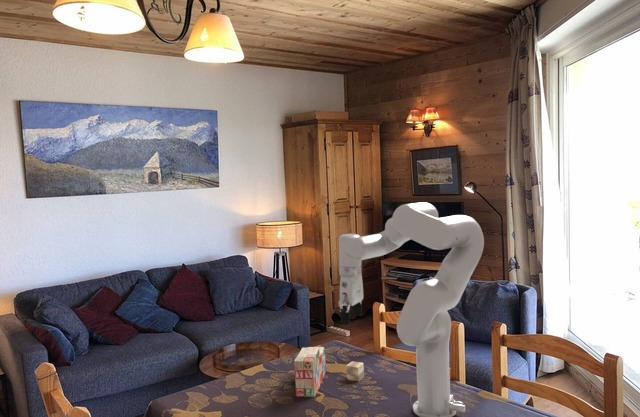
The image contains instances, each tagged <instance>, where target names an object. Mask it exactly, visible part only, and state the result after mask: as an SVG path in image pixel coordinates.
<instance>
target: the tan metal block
mask: <svg viewBox="0 0 640 417" xmlns="http://www.w3.org/2000/svg"><path fill="white" fill-rule="evenodd" d="M364 377H365V368H364V362H360V361H353V360H351V362H349V363H348V364H347V365H346V380H347V379H348V381H355V382H360V381H361V380H362V379H363V378H364Z"/></svg>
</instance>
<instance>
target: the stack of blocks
mask: <svg viewBox="0 0 640 417" xmlns="http://www.w3.org/2000/svg"><path fill="white" fill-rule="evenodd" d="M325 353H326V352H325V347H323V346H308V347H302V348H301V350H300V351H299V353H298V354H297V356H296V357H295V358H294V361H293V363H294V365H293V366H294V381H295V396H296V397H298V398H299V397H303V398H315V396H316V394H317V392H318V390H319V389H320V387H321V383H322V381H323V379H324V377H325V375H326V373H327V367H326V366H327V365H326V354H325Z"/></svg>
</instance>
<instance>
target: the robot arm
mask: <svg viewBox="0 0 640 417" xmlns="http://www.w3.org/2000/svg"><path fill="white" fill-rule="evenodd" d="M384 225H385V226H384V230H383V231H381V232H378V233H374V234H368V235H363V236H361V235H359V234H357V233H343V234H341V235H339V238H338V261H339V262H338V263H339V266H338V267H339V268H338V269H339V270H338V271H339V275H340V280H339V300H338V309H339V313H340V323H341V324H346V325H350V324H351V312H350V307H351V306H352V315H354V316H358V317H360V316H362V315H363V313H362V312H363V311H362V310H363V309H362V304H363V300H364V287H363V286H364V284H363V276H362V261H364V260H368V259H372V258H377V257H382V256H384V255H385V256H386V255H387V254H389V253H391V252H393V251H395V250H397V249H399V248H400V247H402V245H404V244H405V243H406V242H408V241H410V240H412V241H414V242H416V243H418V244H420V245H421V246H425V247H426V248H428V249H431V250H436V251H441V250H446V249H450V251H449V252H448V253H447V255H446V256H445V257H444V259H443V260H442V262H441V265H440V267H439V269H438V271H437V273H436V275H434V277H432V278H431V279H427V280H423V281H420V282H419V283H417V284H415V286H414V287H413V288H412V289H411V290H410V292H409V294H408V296H407V298H406V300H405V302H404V305H403V307H402V309H401V311H400V313H399V316H398V319H397V323H396V332H397V336H398V338H399V340H400V341H401V342H402V343H403V344H405V345H406V346H410V347H416V349H415V356H416V357H415V359H416V360H415V361H416V386H417V400H416V401H415V402H414V403H413V404H412V411H413V413H414V414H415V415H417V417H454V416H455V415H456V414H457V412H460V413H461V412H462V413H465V412H466V405H464V401H460V400H456V399H454V394H451V378H450V377H451V376H450V374H451V372H450V338H451V337H450V336H451V331H452V318H451V315H450V314H449V312H448V311H449V310H451V309H453V308H456V306H457V304H458V303H459V302H460V300H461V299H462V296H463V294H464V293H465V292H464V291H465V289H466V287H467V285H468V284H469V281H470V280H471V277H472V275H473V273H474V271H475V269H476V268H477V266H478V264H479V262H480V260H481V257H482V255H483V251H484V248H485V247H484V245H485V237H484V233H483V231H482V228H481V226H480V224H479V223H478V222H477V221H476V219H475V218H474V217H471V216H468V215H464V214H455V215H454V214H453V215H449V216H448V215H447V216H443V217H439V211H438V210H437V208H436V207H435V206H434V205H433V204H431V203H429V202H423V201H422V202H411V203H405V204H402V205H400V206H398V207H397V208H396V209H395V210H394V212H393V214H392V216H391V217H390V218H389V219H387V221H386V223H385V224H384Z"/></svg>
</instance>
